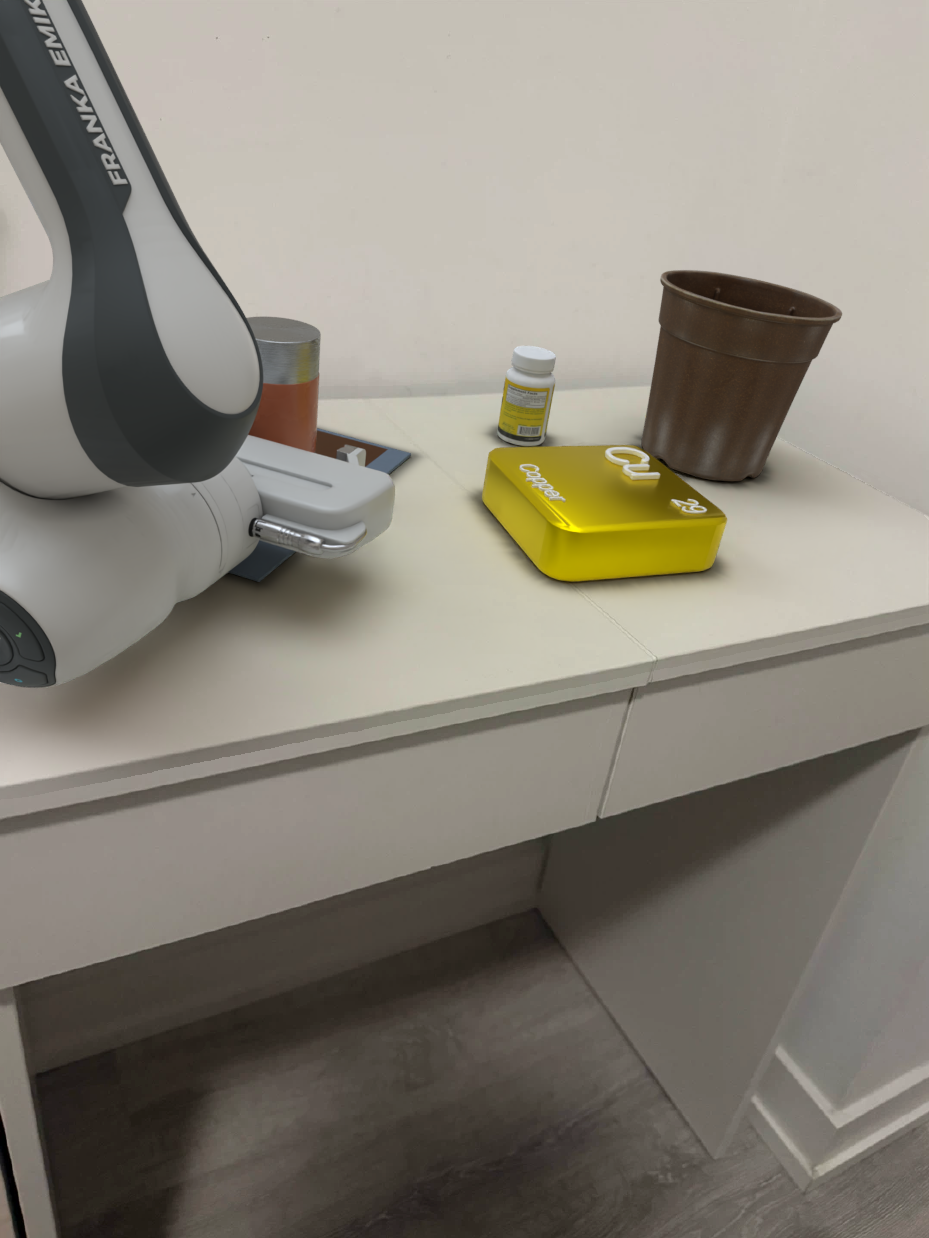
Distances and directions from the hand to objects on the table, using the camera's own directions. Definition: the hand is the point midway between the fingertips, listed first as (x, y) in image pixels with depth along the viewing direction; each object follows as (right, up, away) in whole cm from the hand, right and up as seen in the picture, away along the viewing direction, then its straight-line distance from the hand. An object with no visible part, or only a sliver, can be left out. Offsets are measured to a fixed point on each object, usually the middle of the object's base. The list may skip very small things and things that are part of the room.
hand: (297, 440), depth 66 cm
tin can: (-3, -2, +6) cm, 7 cm away
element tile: (+22, -6, +7) cm, 24 cm away
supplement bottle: (+17, +5, +23) cm, 29 cm away
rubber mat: (-4, -2, +6) cm, 7 cm away
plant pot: (+36, +3, +25) cm, 44 cm away
